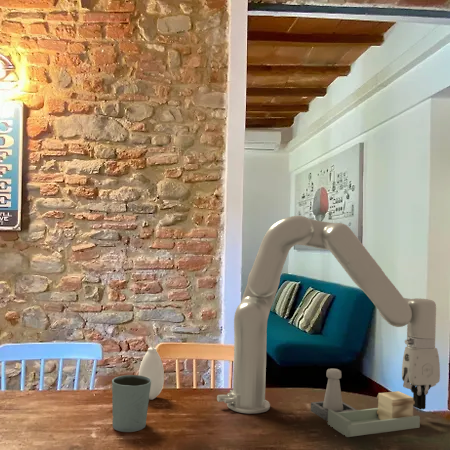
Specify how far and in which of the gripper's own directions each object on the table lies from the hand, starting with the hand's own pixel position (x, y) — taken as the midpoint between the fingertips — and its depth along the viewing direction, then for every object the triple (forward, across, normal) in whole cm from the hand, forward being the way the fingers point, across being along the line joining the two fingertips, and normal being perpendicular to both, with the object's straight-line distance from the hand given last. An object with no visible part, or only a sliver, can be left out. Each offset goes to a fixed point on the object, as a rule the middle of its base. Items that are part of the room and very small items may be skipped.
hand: (419, 407), depth 147 cm
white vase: (+4, -68, +39) cm, 78 cm away
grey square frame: (+4, -21, +10) cm, 24 cm away
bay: (+4, -15, 0) cm, 16 cm away
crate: (+4, -8, 0) cm, 9 cm away
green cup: (+4, -78, +19) cm, 81 cm away
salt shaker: (+4, -22, +11) cm, 24 cm away
